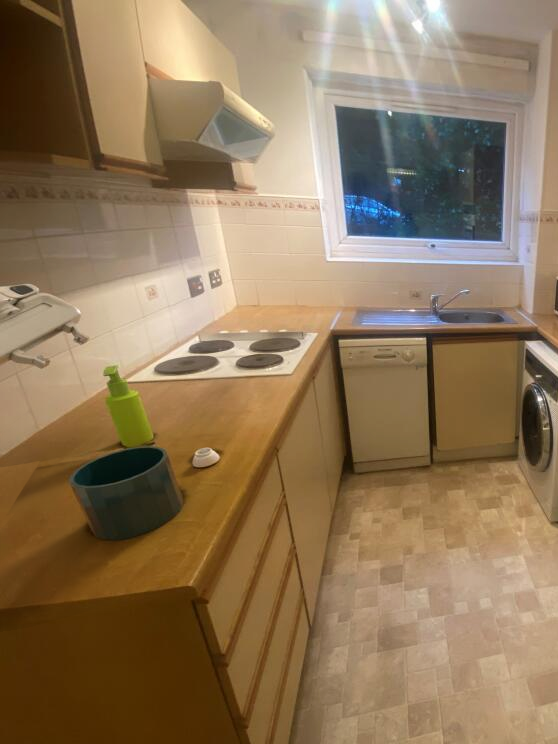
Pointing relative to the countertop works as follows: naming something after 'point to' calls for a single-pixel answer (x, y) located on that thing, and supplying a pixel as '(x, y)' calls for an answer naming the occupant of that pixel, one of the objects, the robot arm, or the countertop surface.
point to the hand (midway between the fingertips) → (67, 352)
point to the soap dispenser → (127, 411)
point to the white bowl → (205, 457)
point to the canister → (127, 492)
